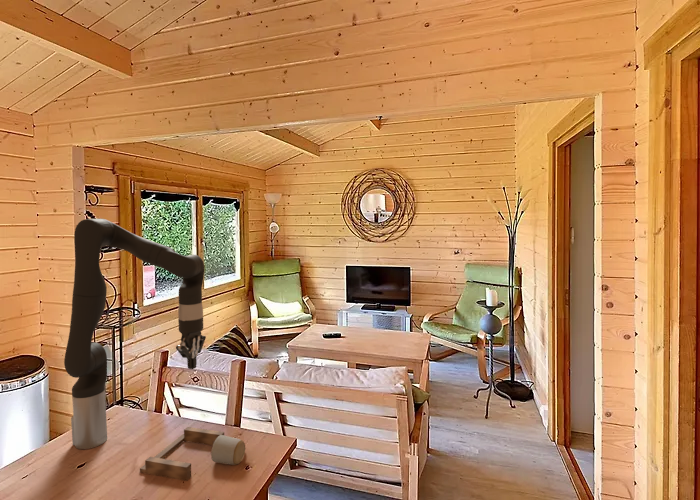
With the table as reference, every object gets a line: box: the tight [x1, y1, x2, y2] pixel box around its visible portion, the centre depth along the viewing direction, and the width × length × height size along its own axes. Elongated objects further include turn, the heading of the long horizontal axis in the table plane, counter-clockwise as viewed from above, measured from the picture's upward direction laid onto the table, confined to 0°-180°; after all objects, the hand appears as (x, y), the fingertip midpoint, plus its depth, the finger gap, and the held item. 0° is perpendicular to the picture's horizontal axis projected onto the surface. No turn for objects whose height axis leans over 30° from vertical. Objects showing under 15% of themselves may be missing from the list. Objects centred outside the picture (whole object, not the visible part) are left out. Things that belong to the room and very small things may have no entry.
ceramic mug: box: [210, 434, 246, 466], centre depth 129 cm, size 11×8×8 cm
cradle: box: [139, 426, 225, 482], centre depth 129 cm, size 16×20×4 cm
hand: (192, 368), depth 135 cm, fingers closed
